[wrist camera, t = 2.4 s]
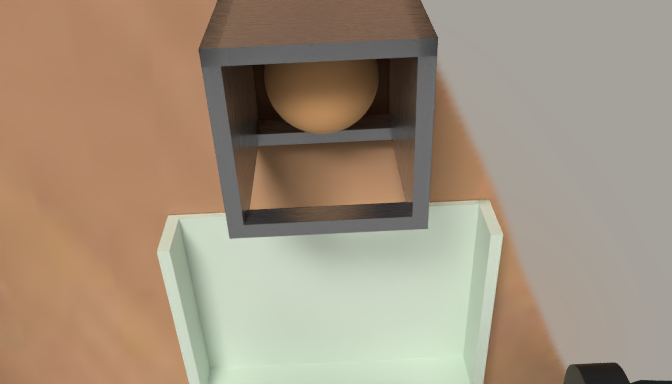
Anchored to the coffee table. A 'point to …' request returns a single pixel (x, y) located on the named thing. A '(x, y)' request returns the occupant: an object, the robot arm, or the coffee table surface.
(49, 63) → the coffee table surface
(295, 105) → the ball
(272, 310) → the tray
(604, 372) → the robot arm
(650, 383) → the wine bottle
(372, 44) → the grey hollow box
